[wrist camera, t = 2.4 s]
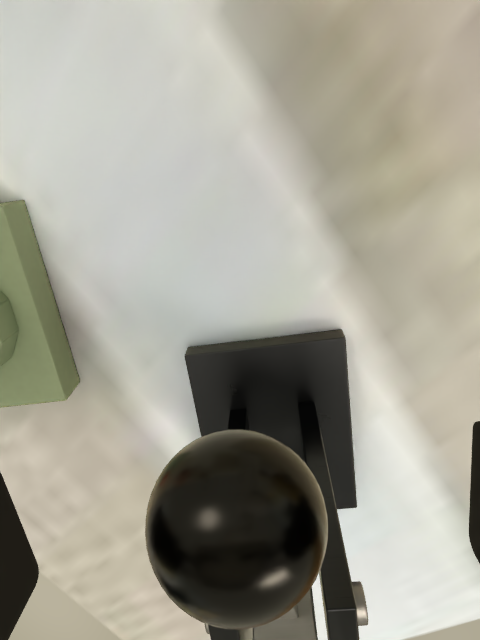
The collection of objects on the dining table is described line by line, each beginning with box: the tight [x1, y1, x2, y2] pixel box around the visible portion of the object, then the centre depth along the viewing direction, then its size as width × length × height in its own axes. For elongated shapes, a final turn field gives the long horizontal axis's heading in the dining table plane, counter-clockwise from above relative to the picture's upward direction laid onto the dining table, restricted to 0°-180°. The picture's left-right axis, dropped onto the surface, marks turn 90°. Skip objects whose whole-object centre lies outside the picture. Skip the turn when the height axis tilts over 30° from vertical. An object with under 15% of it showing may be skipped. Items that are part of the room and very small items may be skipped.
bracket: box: [185, 330, 368, 640], centre depth 22 cm, size 12×9×14 cm
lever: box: [145, 429, 328, 640], centre depth 13 cm, size 15×3×3 cm, turn 8°
